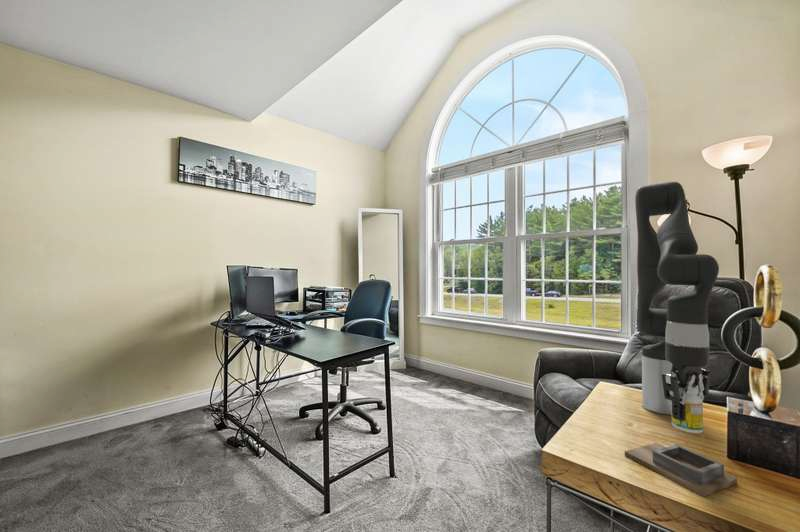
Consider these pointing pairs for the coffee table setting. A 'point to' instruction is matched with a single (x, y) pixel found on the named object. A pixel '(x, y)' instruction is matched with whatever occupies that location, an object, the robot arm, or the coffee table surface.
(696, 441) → the coffee table surface
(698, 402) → the supplement bottle
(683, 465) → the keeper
